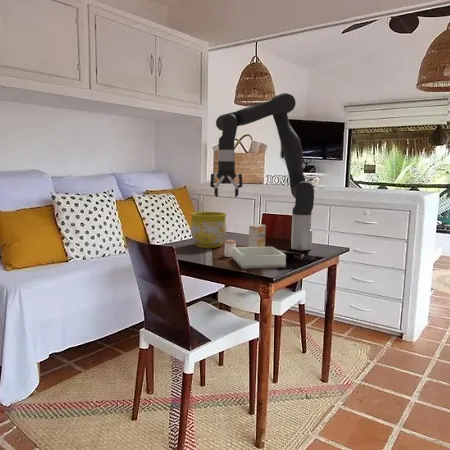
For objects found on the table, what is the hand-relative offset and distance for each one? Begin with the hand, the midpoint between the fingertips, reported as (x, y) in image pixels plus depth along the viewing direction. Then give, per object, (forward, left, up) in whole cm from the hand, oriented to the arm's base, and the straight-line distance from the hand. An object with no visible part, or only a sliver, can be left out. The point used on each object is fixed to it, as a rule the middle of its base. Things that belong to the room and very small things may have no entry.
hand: (226, 196), depth 191 cm
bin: (-11, +17, -27) cm, 33 cm away
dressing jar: (-2, +2, -27) cm, 27 cm away
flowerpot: (+4, -23, -27) cm, 35 cm away
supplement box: (-16, -3, -27) cm, 31 cm away
